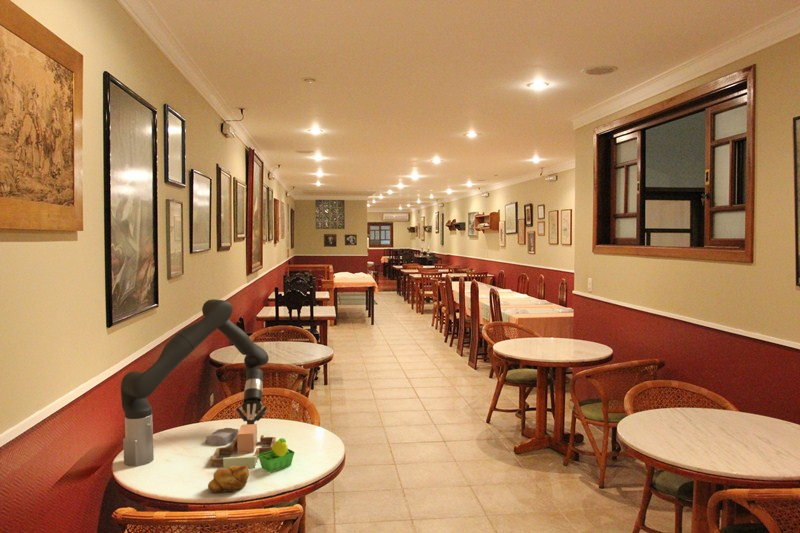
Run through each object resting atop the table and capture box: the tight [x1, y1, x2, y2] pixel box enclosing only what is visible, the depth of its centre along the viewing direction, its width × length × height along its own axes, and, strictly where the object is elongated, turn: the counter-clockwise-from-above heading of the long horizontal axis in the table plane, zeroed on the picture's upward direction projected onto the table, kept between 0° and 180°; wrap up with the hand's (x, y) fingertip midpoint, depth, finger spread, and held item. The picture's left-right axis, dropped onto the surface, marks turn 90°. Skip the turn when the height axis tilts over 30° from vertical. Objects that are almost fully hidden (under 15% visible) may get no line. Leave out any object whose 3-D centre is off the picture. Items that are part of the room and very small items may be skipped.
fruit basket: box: [258, 437, 295, 473], centre depth 204 cm, size 11×9×11 cm
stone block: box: [206, 427, 239, 446], centre depth 233 cm, size 12×5×10 cm
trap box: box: [210, 434, 277, 468], centre depth 217 cm, size 26×21×2 cm
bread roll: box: [207, 465, 250, 493], centre depth 188 cm, size 13×10×8 cm
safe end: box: [222, 455, 256, 469], centre depth 204 cm, size 1×11×4 cm, turn 97°
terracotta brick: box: [237, 423, 258, 454], centre depth 224 cm, size 11×6×8 cm, turn 7°
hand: (250, 429), depth 232 cm, fingers closed
